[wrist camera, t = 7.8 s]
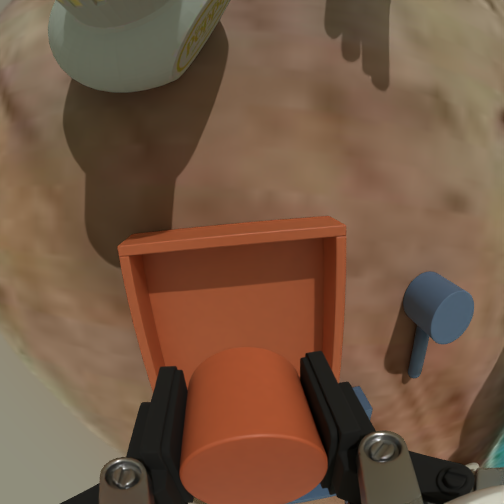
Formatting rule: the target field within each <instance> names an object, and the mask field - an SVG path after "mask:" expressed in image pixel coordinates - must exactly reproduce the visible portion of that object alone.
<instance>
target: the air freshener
mask: <svg viewBox="0 0 504 504" xmlns="http://www.w3.org/2000/svg"><path fill="white" fill-rule="evenodd" d="M229 2H230V0H56V1H55V3H54V5H53V8H52V11H51V14H50V18H49V24H48V36H49V44H50V47H51V50H52V53H53V56H54V57H55V59H56V61H57V62H58V64H59V65H60V67H61V68H62V69H63V70H64V71H65V72H66V73H67V74H68V75H69V76H70V77H71V78H73V79H74V80H76V81H78V82H79V83H81V84H83V85H85V86H88V87H91V88H93V89H96V90H101V91H107V92H136V91H143V90H148V89H152V88H155V87H159V86H162V85H165V84H167V83H169V82H172V81H174V80H176V79H178V78H179V77H180V76H181V75H182V74H183V73H184V72H185V71H186V70H187V68H188V67H189V66H190V64H191V63H192V62H193V60H194V59H195V58H196V56H197V55H198V53H199V52H200V50H201V49H202V47H203V46H204V44H205V43H206V41H207V40H208V38H209V36H210V35H211V33H212V32H213V30H214V28H215V27H216V25H217V23H218V22H219V20H220V18H221V16H222V15H223V13H224V11H225V9H226V7H227V6H228V4H229Z"/></svg>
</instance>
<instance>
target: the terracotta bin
mask: <svg viewBox="0 0 504 504" xmlns="http://www.w3.org/2000/svg"><path fill="white" fill-rule="evenodd" d="M117 248H118V254H119V256H120V257H119V259H120V264H121V270H122V275H123V280H124V284H125V289H126V294H127V298H128V303H129V307H130V311H131V315H132V320H133V324H134V328H135V331H136V335H137V339H138V343H139V347H140V350H141V354H142V357H143V361H144V364H145V368H146V371H147V374H148V378H149V381H150V384H151V387H152V390H153V392H154V388H155V384H156V380H157V376H158V373H159V369H160V367H164V366H176V367H177V369H178V370H183V373H184V377H185V381H186V386H187V390H188V386H189V381H190V378H191V376H192V374H193V372H194V371H195V369H196V368H197V367H198V366H199V365H200V364H201V363H202V362H203V361H204V360H206V359H207V358H209V357H210V356H212V355H214V354H216V353H218V352H221V351H224V350H227V349H231V348H237V347H257V348H263V349H266V350H270V351H272V352H275V353H277V354H279V355H281V356H282V357H284V358H285V359H286V360H288V361H289V362H290V363H291V364H292V365H293V366H294V368H295V369H296V371H297V373H298V375H299V378H300V358H302V357H305V354H306V353H309V352H315V351H322V352H323V354H324V356H325V358H326V360H327V362H328V364H329V366H330V368H331V370H332V372H333V374H334V376H335V378H336V380H337V382H338V383H339V378H340V367H341V355H342V342H343V327H344V309H345V283H346V225H344V224H343V223H341V222H339V221H337V220H335V219H333V218H331V217H330V216H322V217H308V218H295V219H282V220H270V221H258V222H246V223H235V224H224V225H214V226H203V227H193V228H183V229H173V230H164V231H155V232H146V233H137V234H132V235H131V236H129V237H128V238H127V239H126V240H125V241H123V242H122V243H121V244H120V245H118V247H117Z"/></svg>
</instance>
